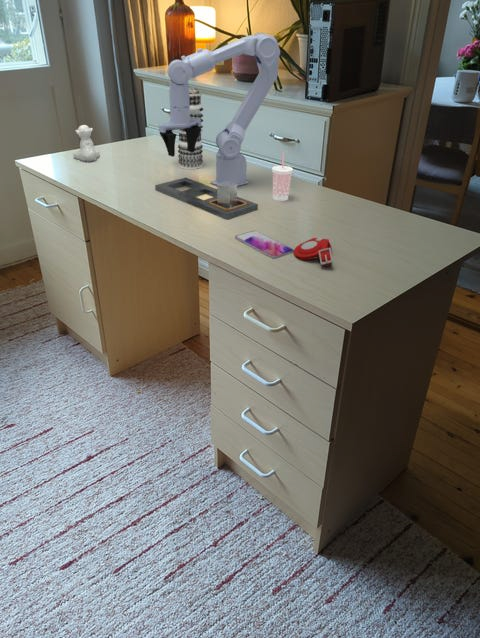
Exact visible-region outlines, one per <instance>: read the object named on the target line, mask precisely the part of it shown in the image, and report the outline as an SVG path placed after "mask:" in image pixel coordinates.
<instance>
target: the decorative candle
mask: <svg viewBox="0 0 480 638" xmlns="http://www.w3.org/2000/svg"><path fill="white" fill-rule="evenodd" d="M188 89H189V101H190V119H201V123H203V122H204V119H203V117H204V114H202V113H201V112H202V111H204V108H203V107H202V103H201V99H202V98H201V95H202V93H201V92H200V91H199V89H197V88H196V87H188ZM199 128H201V132H200V134H199V136H198V138H197V141H196V144H195V149H194V152H189V151H188V148H187V136H186V132H185V128H184V129H178V130H176V132H178V145H177V148H178V150H177V152H178V155H177V156H178V157H177V159H178V167H179V168H180V167H181V169H183V168H184V170H197V168H199V169H201V168H203V165H204V164H203V162H204V161H203V156H204V155H203V152H204V151H203V148H204V146H203V145H202V143H203V140H202V133H203V129H202V128H204V126H203V125H202V124H201V126H199ZM200 167H201V168H200Z"/></svg>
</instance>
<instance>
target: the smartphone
mask: <svg viewBox="0 0 480 638" xmlns="http://www.w3.org/2000/svg"><path fill="white" fill-rule="evenodd" d="M234 239H235V240H237V241H239V243H242V244H245V245H246V246H248V247H249V248H252V249H254V250H256V251H257V252H259V253H261V254H263V255H265V256H266V257H268V258H270V259H273V260H274V259H275V260H276V259H278V258H281V257H284V256H286V255H290V254H294V249H295V248H294V249H293V248H292V247H289V246H287V245H285V244H284V243H282V242H279V241H278V240H275V239H273V238H272V237H269V236H268V235H265V234H264V233H261V232H260V231H258V230H252V231H248V232H245V233H241V234H236V235H235V236H234Z"/></svg>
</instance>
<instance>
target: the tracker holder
mask: <svg viewBox="0 0 480 638" xmlns="http://www.w3.org/2000/svg"><path fill="white" fill-rule="evenodd" d="M293 255H294V257H295V258H297V259H298V260H302V261H306V260H307V261H308V260H313V259H316V258H319V260H320V261H319V262H320V265H321V266H323V267H327V266H330V265H332V263H333V262H334V260H333V259H334V258H333V251H332V245H331V243H330V239H329V238H322V237H313V238H311V239H308V240H306V241H303V242H302V243H299V244H298V245H297V246H296V247H295V248H294V252H293Z"/></svg>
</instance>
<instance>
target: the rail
mask: <svg viewBox="0 0 480 638" xmlns="http://www.w3.org/2000/svg"><path fill="white" fill-rule="evenodd" d="M154 187H155V191H157V192H159V193H161V192H162V194H165V195H166V194H167V196H169V197H171V198H174V199H176V200H179V201H180V202H183V203H186V204H188V205H190V206H193V207H195V208H198V209H201V210H203V211H206V212H208V213H210V214H212V215H215V216H217V217H219V218H222V219H225V220H230V219H233V218H236V217H238V216H242V215H245V214H247V213H251V212H254V211H257V210H258V209H259V208H258V207H259V204H258V203H255V202H253V201H251V200H247V199H245V198H243V197H242V198H241V197H239V196H237V206H235V207H232V208H229V209H226V208H224V207H221V206H219V205H217V188H215V187H212V186H210V185H207V184H205V183H202V182H199V181H196V180H193V179H191V178H188V177H183V178H179V179H175V180H171V181H166V182H162V183H158V184H155V185H154ZM181 187H187V188H188V189H184V190H182V191H181V190H179V189H177V188H181ZM203 195H208V196H211V197H210V198H206V199H201V198H199V196H203Z"/></svg>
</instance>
